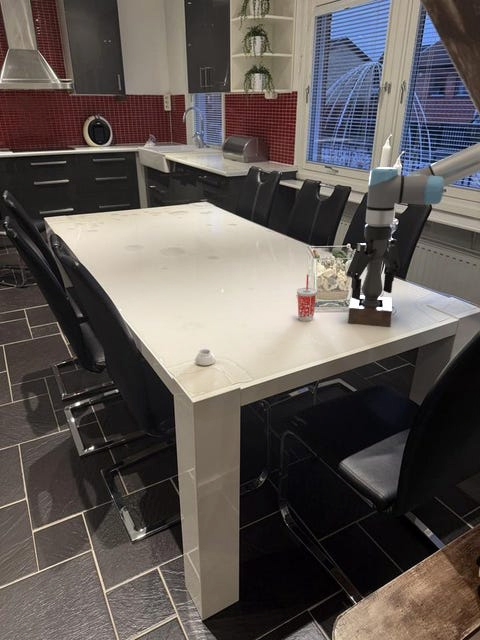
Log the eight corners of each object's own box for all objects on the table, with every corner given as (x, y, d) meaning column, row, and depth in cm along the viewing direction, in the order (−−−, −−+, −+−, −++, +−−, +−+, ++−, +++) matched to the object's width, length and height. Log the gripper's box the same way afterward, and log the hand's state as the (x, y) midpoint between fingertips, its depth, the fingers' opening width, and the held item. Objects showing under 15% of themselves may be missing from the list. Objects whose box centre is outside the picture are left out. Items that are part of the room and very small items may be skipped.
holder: (389, 312, 148) (391, 297, 146) (390, 327, 137) (392, 311, 135) (350, 309, 151) (351, 294, 149) (347, 323, 140) (349, 307, 139)
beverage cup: (310, 313, 148) (313, 271, 143) (318, 320, 143) (321, 276, 137) (292, 315, 147) (294, 272, 141) (300, 322, 141) (302, 278, 136)
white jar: (202, 356, 121) (191, 363, 117) (202, 345, 120) (190, 353, 116) (219, 360, 118) (207, 368, 115) (218, 349, 117) (207, 357, 113)
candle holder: (375, 322, 140) (384, 240, 131) (356, 318, 144) (363, 238, 134) (382, 316, 145) (391, 236, 136) (362, 312, 148) (370, 234, 139)
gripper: (399, 218, 142) (391, 285, 150) (336, 226, 131) (332, 298, 139) (419, 222, 136) (409, 292, 144) (355, 230, 125) (349, 306, 133)
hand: (371, 295), depth 142 cm, fingers open, 12 cm apart
